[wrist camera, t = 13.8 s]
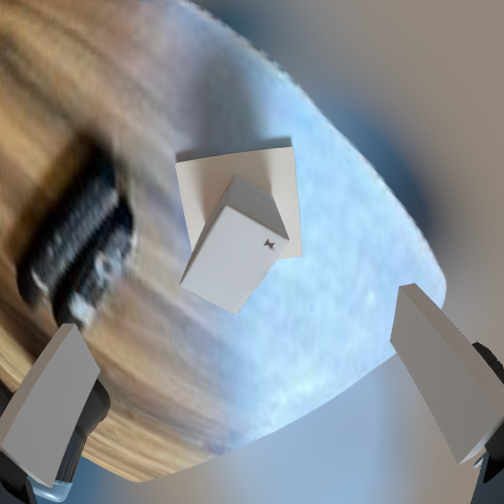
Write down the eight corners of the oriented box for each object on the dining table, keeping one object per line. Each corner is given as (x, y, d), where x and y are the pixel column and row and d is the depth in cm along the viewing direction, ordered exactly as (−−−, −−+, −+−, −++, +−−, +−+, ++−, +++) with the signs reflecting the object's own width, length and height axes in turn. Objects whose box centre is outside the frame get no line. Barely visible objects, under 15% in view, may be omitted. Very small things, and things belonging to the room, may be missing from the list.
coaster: (197, 265, 30) (196, 269, 30) (176, 162, 26) (175, 163, 25) (300, 252, 30) (302, 256, 29) (291, 146, 26) (293, 146, 25)
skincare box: (234, 171, 26) (227, 199, 15) (273, 195, 27) (294, 240, 16) (202, 225, 28) (176, 286, 17) (239, 246, 29) (237, 318, 18)
